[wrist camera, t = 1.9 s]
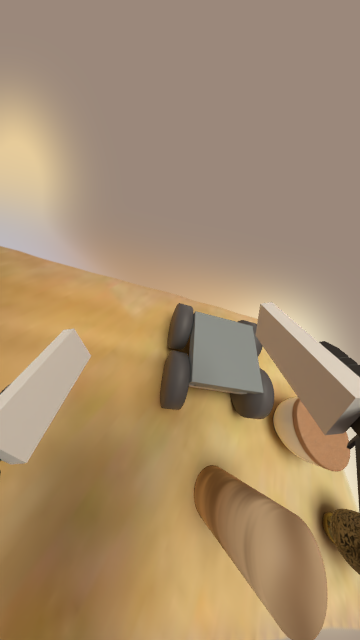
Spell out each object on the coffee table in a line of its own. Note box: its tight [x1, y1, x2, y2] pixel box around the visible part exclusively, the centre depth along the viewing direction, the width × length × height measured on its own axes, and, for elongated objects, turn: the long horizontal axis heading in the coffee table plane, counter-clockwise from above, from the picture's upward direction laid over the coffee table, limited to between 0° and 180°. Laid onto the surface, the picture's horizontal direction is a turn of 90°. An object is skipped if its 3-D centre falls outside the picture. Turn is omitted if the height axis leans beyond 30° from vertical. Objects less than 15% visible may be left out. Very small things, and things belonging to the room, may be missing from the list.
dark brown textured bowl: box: [323, 509, 360, 574], centre depth 24 cm, size 8×7×8 cm
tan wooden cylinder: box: [194, 465, 327, 640], centre depth 19 cm, size 6×6×14 cm
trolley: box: [160, 303, 274, 419], centre depth 30 cm, size 17×19×10 cm
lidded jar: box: [273, 397, 350, 471], centre depth 29 cm, size 11×11×9 cm
